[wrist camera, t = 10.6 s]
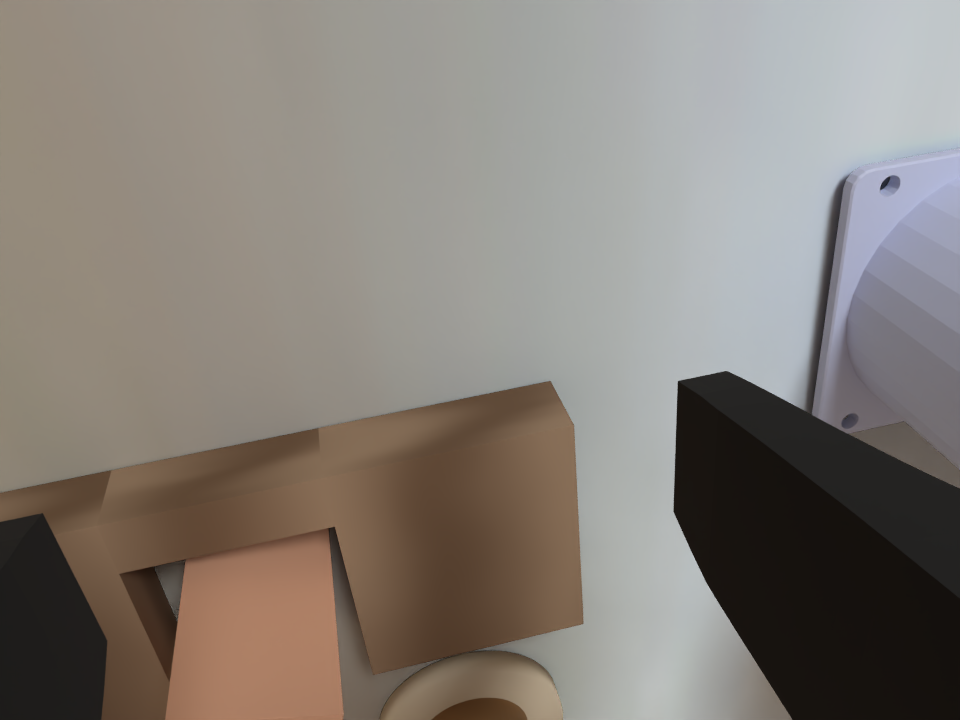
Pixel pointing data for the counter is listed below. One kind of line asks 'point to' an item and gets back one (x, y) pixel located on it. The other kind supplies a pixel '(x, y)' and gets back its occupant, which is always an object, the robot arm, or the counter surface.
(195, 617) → the salmon pink cuboid
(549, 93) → the counter surface
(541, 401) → the notched board
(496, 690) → the bobbin
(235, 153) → the counter surface
